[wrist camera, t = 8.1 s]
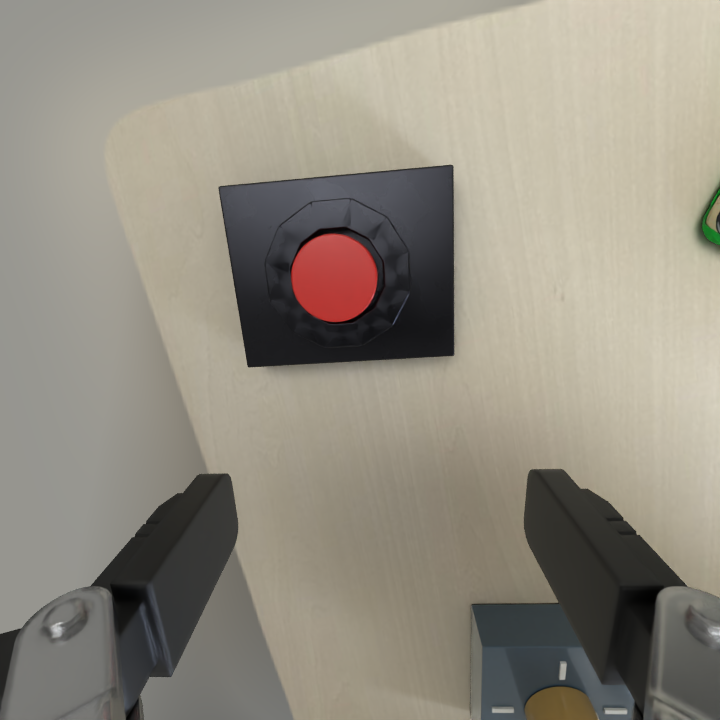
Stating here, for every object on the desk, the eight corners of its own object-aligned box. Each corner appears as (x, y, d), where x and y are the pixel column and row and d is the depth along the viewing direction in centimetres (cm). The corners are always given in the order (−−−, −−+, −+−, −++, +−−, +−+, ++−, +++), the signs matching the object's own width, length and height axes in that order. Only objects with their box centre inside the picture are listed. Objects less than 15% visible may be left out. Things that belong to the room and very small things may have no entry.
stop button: (304, 318, 18) (295, 325, 16) (295, 238, 17) (285, 237, 15) (379, 313, 17) (379, 319, 16) (374, 232, 16) (374, 229, 15)
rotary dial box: (470, 712, 29) (480, 765, 26) (471, 604, 26) (482, 649, 23) (656, 714, 28) (689, 769, 25) (679, 602, 25) (720, 649, 22)
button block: (260, 356, 22) (234, 378, 18) (234, 193, 20) (199, 178, 16) (447, 345, 21) (462, 366, 17) (445, 173, 19) (462, 153, 15)
